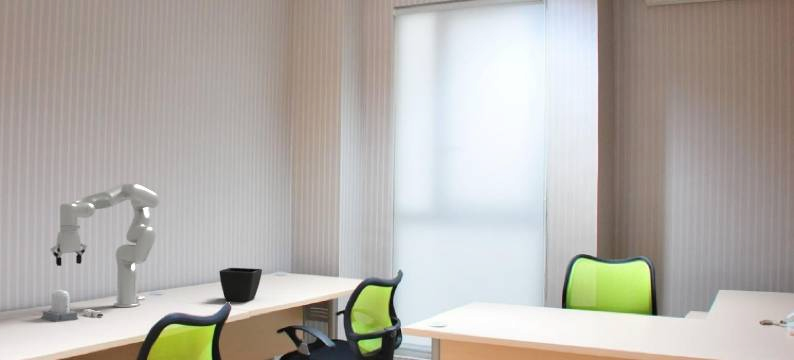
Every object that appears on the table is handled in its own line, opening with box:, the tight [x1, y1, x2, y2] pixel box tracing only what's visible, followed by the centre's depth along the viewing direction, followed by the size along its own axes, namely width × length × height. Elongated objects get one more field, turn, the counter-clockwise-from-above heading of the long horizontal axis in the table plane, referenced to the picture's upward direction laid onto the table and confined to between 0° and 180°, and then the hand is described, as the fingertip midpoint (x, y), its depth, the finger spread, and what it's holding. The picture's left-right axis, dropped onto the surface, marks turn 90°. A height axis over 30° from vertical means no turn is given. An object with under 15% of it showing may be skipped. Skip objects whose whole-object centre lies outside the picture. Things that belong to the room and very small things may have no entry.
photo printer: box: [50, 289, 71, 314], centre depth 336 cm, size 10×4×12 cm, turn 57°
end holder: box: [41, 309, 79, 323], centre depth 335 cm, size 10×15×3 cm, turn 51°
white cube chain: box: [83, 308, 104, 318], centre depth 344 cm, size 4×13×2 cm, turn 51°
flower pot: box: [219, 267, 263, 303], centre depth 401 cm, size 19×19×17 cm
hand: (69, 264), depth 347 cm, fingers open, 9 cm apart
